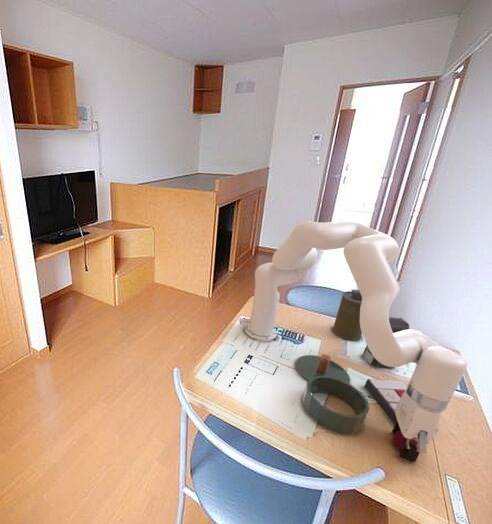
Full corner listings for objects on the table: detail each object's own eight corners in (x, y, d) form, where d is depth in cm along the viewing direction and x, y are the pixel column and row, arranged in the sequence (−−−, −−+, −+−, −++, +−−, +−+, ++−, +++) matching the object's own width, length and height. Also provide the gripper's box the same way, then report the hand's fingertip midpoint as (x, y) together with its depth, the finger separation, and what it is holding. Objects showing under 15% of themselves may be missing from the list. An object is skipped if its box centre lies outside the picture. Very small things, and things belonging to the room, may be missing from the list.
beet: (417, 460, 78) (425, 444, 75) (392, 452, 80) (400, 435, 77) (411, 444, 82) (419, 428, 80) (388, 436, 84) (395, 420, 82)
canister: (334, 337, 126) (346, 294, 118) (330, 324, 135) (342, 283, 127) (365, 343, 122) (380, 299, 115) (359, 329, 131) (372, 288, 123)
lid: (294, 381, 103) (298, 364, 100) (295, 352, 117) (299, 337, 114) (352, 398, 96) (358, 381, 93) (346, 366, 110) (351, 350, 107)
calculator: (399, 417, 85) (367, 376, 99) (394, 428, 87) (363, 386, 100) (441, 420, 84) (402, 378, 98) (434, 430, 86) (397, 388, 100)
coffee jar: (385, 356, 115) (400, 314, 108) (398, 370, 108) (416, 326, 101) (357, 354, 116) (371, 312, 109) (369, 368, 109) (385, 324, 102)
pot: (302, 421, 88) (307, 404, 86) (302, 385, 101) (306, 369, 99) (366, 443, 82) (374, 426, 79) (358, 402, 95) (364, 386, 92)
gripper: (398, 367, 83) (378, 416, 89) (418, 416, 68) (393, 469, 75) (434, 376, 79) (410, 426, 86) (463, 429, 65) (432, 483, 72)
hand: (403, 445), depth 80 cm, fingers open, 6 cm apart
